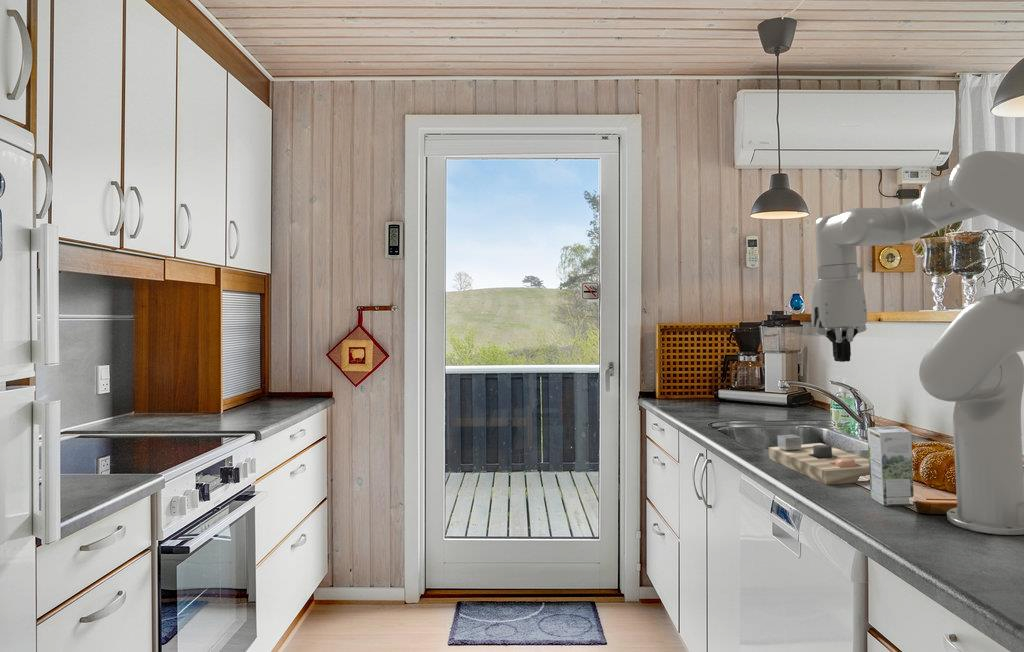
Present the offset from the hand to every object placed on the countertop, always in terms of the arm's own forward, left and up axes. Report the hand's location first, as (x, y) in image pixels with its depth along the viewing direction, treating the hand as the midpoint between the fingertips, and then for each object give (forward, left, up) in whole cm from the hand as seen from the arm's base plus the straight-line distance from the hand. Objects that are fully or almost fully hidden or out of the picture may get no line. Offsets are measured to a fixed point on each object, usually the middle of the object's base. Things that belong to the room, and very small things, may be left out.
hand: (842, 360), depth 137 cm
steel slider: (+18, -19, -24) cm, 35 cm away
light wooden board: (+9, -15, -27) cm, 32 cm away
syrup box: (-9, +6, -27) cm, 29 cm away
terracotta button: (+3, -9, -26) cm, 28 cm away
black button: (+9, -15, -25) cm, 31 cm away
